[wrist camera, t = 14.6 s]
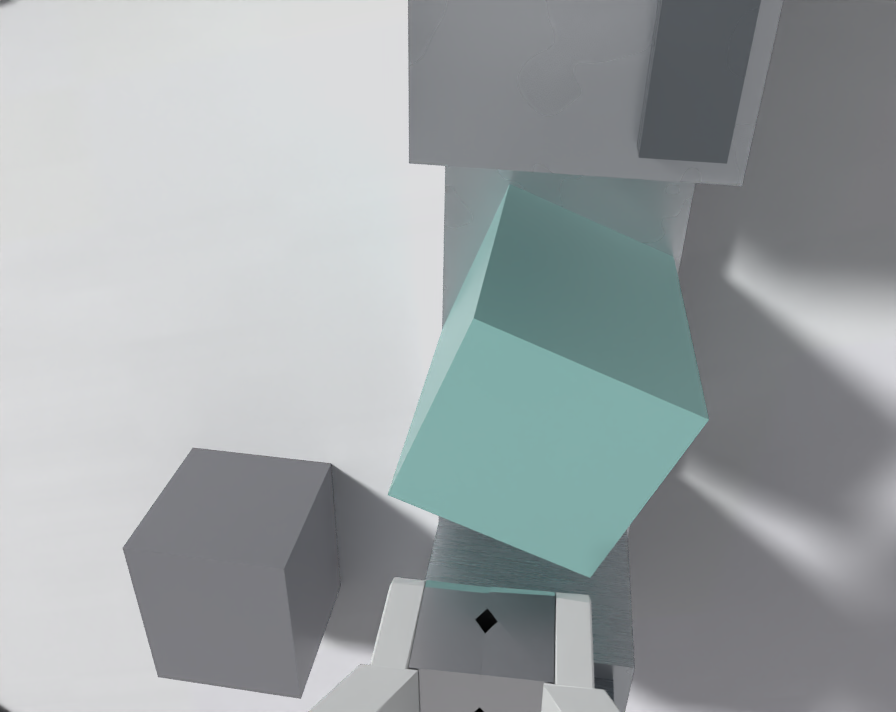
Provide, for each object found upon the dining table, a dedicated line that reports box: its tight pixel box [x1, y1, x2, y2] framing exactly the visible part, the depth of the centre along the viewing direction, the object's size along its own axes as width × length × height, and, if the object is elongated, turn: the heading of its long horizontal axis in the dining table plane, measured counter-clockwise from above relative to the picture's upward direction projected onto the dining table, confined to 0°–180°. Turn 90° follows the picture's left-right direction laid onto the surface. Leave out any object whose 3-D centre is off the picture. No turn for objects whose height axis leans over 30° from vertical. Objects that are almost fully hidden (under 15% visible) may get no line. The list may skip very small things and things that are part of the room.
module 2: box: [388, 184, 709, 578], centre depth 18 cm, size 4×4×7 cm
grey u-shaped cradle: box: [408, 0, 783, 712], centre depth 18 cm, size 26×6×9 cm, turn 179°
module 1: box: [123, 448, 341, 699], centre depth 27 cm, size 6×5×5 cm
